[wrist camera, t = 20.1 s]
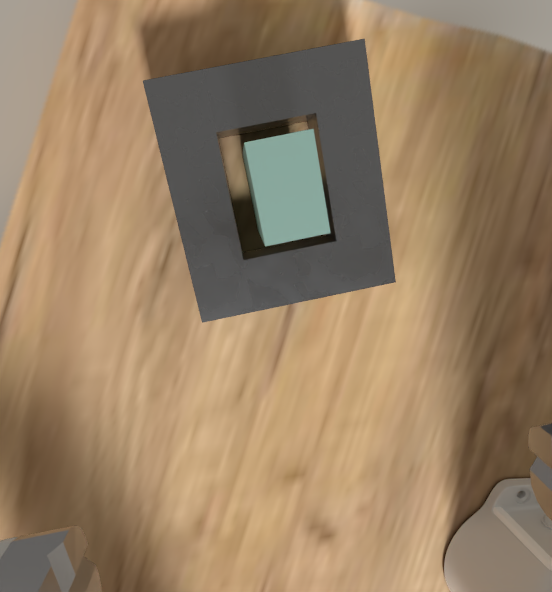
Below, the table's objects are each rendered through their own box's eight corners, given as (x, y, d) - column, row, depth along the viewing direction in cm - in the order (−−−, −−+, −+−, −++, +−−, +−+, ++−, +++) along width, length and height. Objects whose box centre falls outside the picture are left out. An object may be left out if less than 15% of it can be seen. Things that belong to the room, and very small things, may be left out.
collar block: (350, 55, 34) (364, 38, 30) (379, 272, 38) (395, 282, 34) (153, 93, 33) (142, 80, 29) (205, 308, 38) (202, 322, 34)
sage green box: (292, 144, 35) (313, 128, 25) (306, 220, 37) (330, 232, 27) (242, 154, 35) (244, 142, 25) (257, 230, 36) (265, 246, 27)
